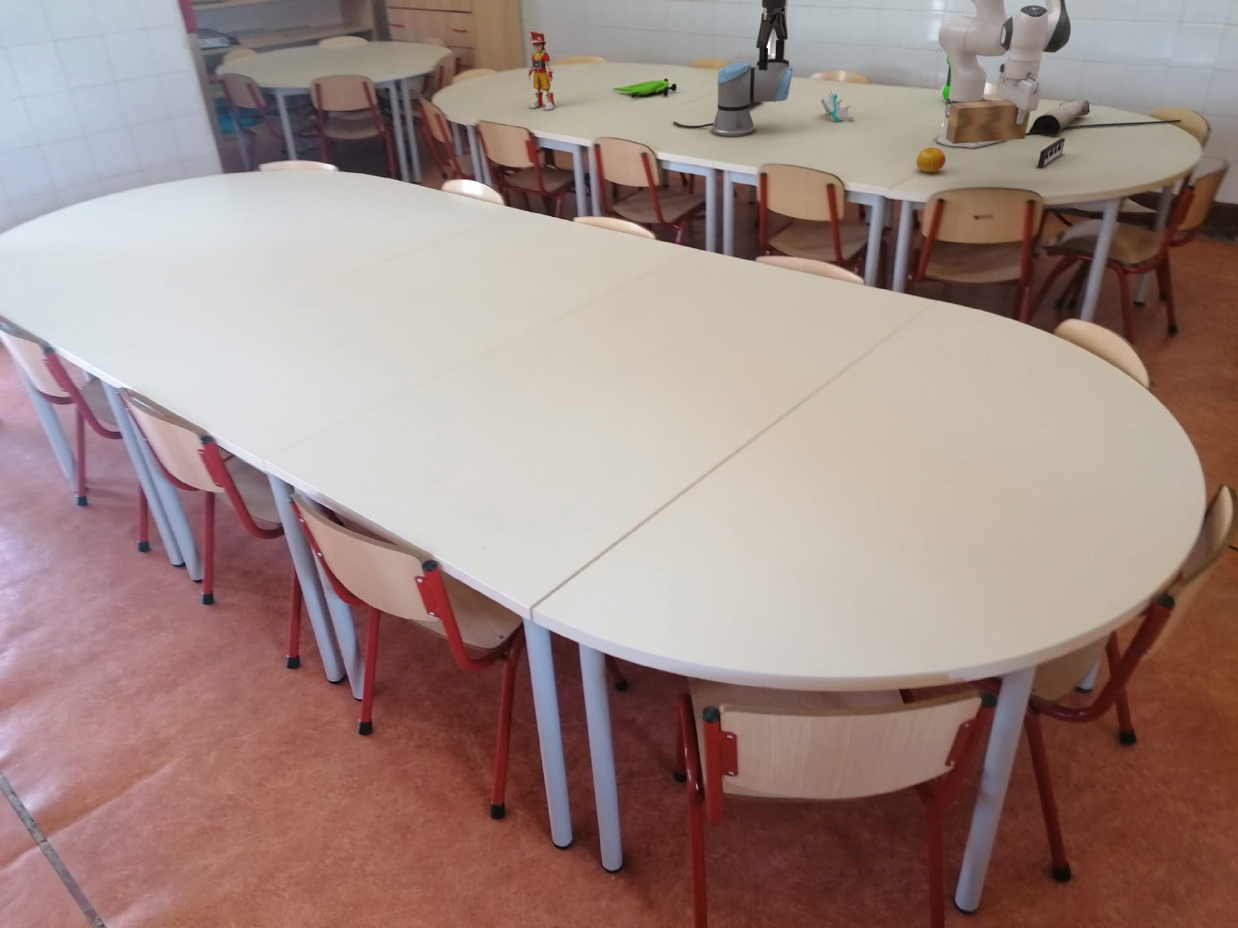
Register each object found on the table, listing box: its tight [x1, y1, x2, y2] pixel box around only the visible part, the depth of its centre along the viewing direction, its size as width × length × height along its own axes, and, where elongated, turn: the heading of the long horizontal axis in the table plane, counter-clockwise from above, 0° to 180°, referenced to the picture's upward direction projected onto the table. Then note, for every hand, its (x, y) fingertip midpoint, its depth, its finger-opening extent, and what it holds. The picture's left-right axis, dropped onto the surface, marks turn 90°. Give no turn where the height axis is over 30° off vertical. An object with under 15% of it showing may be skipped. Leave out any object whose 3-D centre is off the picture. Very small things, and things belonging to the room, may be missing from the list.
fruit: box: [916, 147, 946, 174], centre depth 284 cm, size 8×8×8 cm
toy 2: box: [612, 78, 677, 99], centre depth 396 cm, size 28×5×30 cm
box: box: [946, 99, 1031, 144], centre depth 264 cm, size 22×6×10 cm, turn 94°
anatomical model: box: [820, 90, 855, 122], centre depth 343 cm, size 15×10×10 cm
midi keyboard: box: [1037, 137, 1066, 168], centre depth 287 cm, size 18×1×5 cm, turn 138°
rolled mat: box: [1028, 99, 1091, 137], centre depth 319 cm, size 30×9×10 cm
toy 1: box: [527, 31, 556, 111], centre depth 374 cm, size 12×9×30 cm
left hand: (771, 66), depth 293 cm, fingers open, 13 cm apart
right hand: (1012, 120), depth 265 cm, fingers closed on box, 6 cm apart
